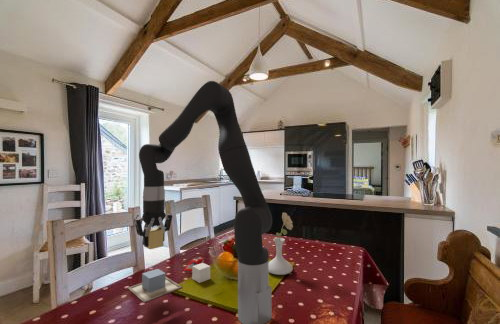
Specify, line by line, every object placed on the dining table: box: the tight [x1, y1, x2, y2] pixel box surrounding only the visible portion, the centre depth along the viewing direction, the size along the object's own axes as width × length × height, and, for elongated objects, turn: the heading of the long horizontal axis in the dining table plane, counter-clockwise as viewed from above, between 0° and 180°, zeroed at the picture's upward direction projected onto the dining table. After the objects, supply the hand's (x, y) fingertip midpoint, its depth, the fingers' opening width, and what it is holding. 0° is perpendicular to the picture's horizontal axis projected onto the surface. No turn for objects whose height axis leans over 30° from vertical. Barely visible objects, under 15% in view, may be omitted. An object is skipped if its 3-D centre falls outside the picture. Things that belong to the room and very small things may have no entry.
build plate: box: [127, 275, 183, 304], centre depth 92 cm, size 14×14×1 cm
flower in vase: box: [269, 212, 294, 276], centre depth 108 cm, size 13×11×25 cm
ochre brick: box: [143, 227, 164, 250], centre depth 93 cm, size 5×5×6 cm
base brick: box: [141, 268, 166, 293], centre depth 92 cm, size 6×6×5 cm
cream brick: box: [191, 262, 211, 284], centre depth 99 cm, size 5×5×6 cm
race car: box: [183, 257, 205, 274], centre depth 111 cm, size 13×5×4 cm, turn 166°
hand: (153, 244), depth 93 cm, fingers closed on ochre brick, 5 cm apart
